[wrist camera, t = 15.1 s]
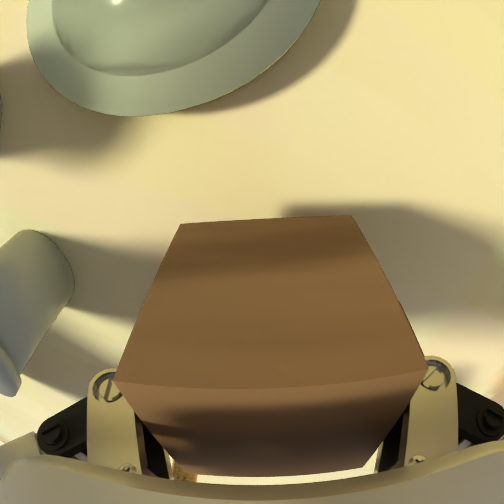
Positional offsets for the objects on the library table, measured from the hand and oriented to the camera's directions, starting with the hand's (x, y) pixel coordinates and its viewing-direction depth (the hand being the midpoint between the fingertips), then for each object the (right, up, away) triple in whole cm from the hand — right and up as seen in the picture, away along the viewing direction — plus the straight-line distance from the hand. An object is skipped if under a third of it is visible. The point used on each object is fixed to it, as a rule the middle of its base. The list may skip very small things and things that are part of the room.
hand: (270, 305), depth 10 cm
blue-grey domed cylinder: (-13, +1, +4) cm, 14 cm away
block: (0, 0, +1) cm, 1 cm away
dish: (-4, +12, -3) cm, 13 cm away
